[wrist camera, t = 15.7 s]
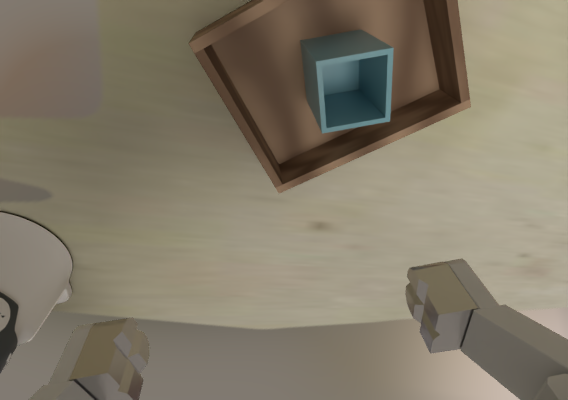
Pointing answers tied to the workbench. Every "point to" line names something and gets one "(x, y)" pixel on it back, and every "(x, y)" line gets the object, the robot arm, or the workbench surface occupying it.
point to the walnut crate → (291, 85)
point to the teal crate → (348, 79)
